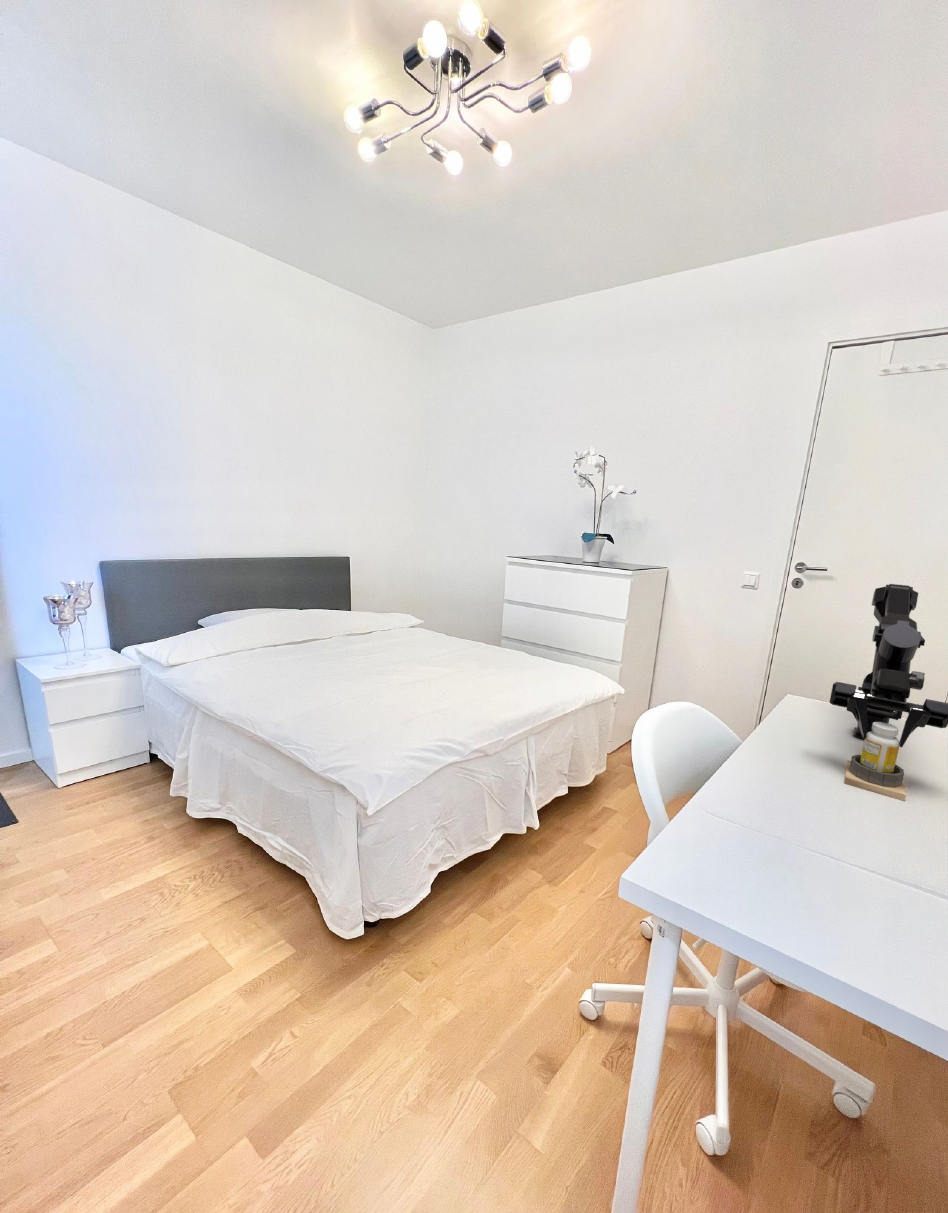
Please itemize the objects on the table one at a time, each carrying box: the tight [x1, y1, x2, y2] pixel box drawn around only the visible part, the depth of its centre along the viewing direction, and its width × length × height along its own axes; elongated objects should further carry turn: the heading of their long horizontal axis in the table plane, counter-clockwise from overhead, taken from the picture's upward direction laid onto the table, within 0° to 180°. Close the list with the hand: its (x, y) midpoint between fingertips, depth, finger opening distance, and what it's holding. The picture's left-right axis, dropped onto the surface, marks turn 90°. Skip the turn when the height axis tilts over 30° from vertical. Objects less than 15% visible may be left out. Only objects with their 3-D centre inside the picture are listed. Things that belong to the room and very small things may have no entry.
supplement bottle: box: [859, 722, 900, 774], centre depth 100 cm, size 5×5×10 cm
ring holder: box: [844, 754, 907, 802], centre depth 101 cm, size 10×9×4 cm
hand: (882, 741), depth 99 cm, fingers closed on supplement bottle, 5 cm apart
